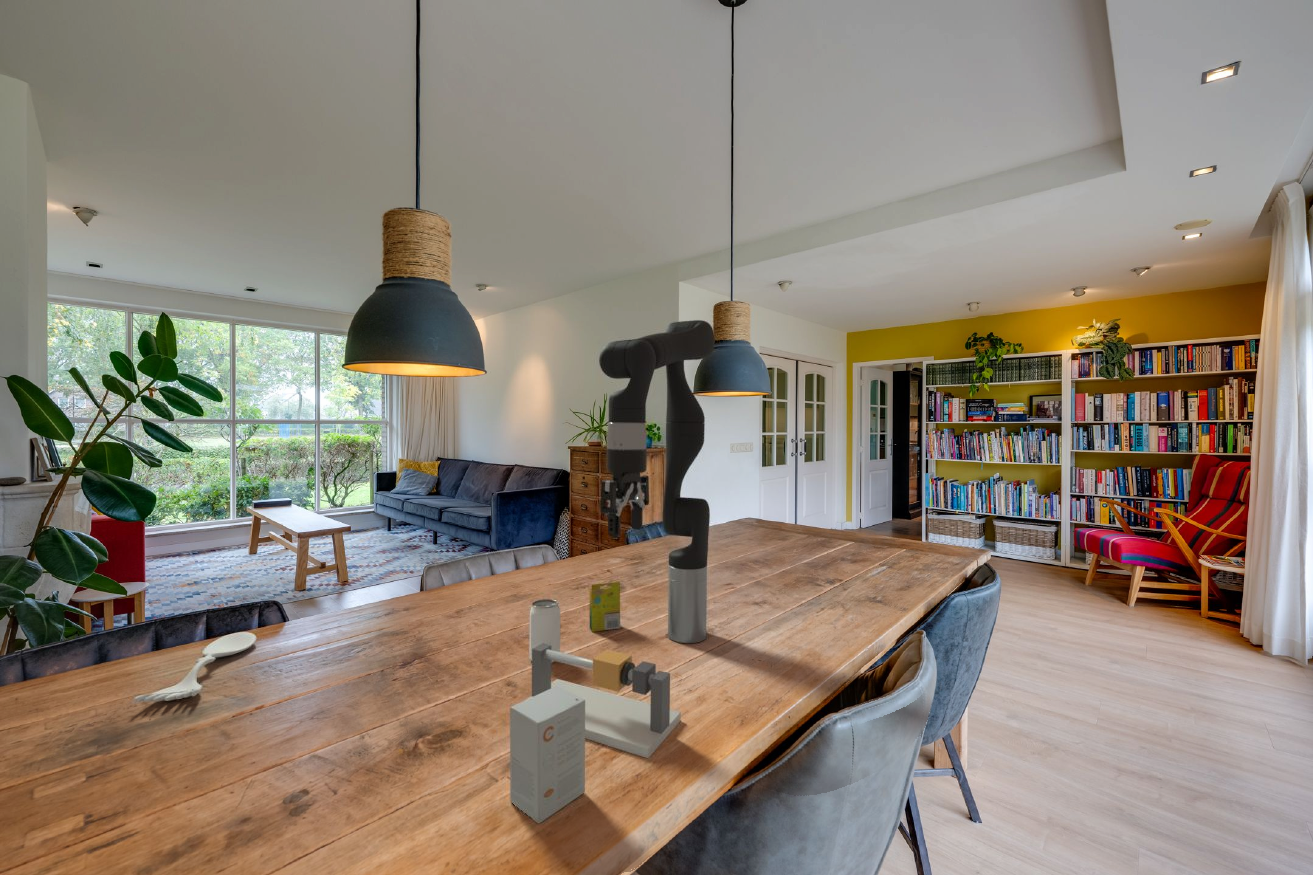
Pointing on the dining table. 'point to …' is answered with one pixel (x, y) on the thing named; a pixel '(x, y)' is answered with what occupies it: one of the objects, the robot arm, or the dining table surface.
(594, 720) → the cable stand
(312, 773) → the dining table surface
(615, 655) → the sleeve
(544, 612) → the can
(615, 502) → the robot arm
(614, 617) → the crayon box
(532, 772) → the small box
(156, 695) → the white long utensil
